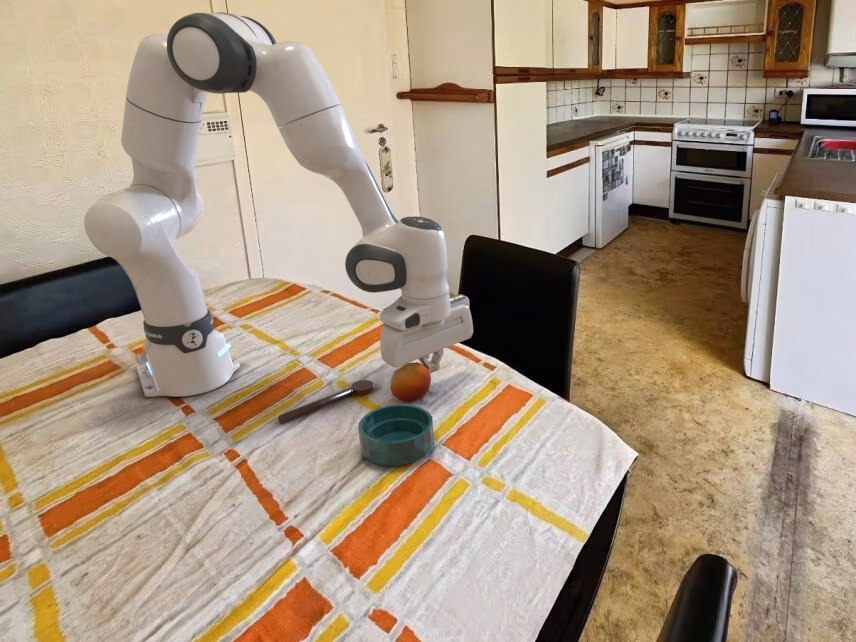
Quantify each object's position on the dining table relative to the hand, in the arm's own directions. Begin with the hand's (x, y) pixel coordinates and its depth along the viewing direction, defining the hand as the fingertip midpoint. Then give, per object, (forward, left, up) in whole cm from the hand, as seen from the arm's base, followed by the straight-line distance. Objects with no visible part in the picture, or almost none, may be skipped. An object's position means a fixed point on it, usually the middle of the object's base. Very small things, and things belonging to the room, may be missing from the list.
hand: (431, 371), depth 123 cm
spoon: (-9, -18, -4) cm, 20 cm away
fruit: (0, -5, -4) cm, 7 cm away
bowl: (+13, -18, -4) cm, 22 cm away
